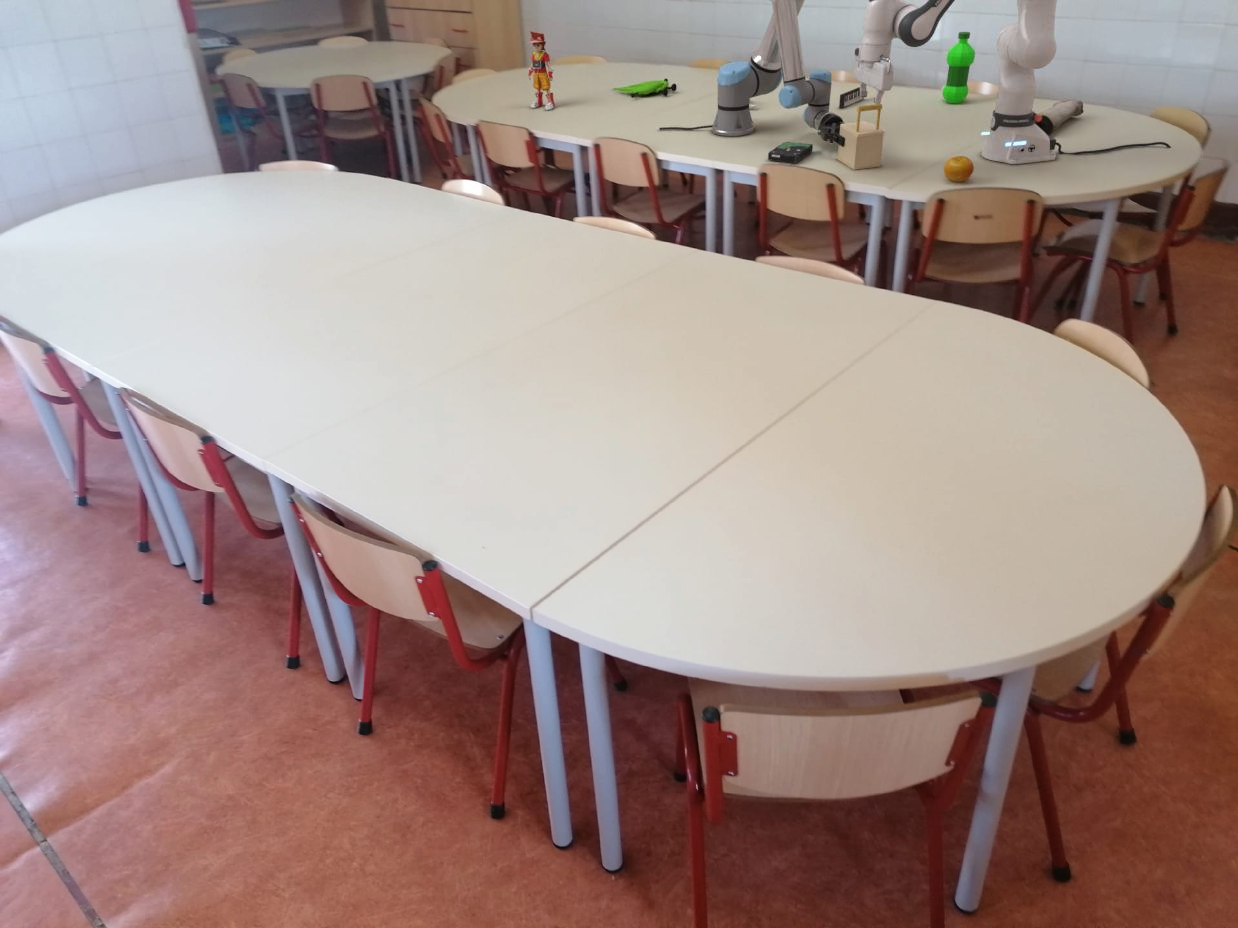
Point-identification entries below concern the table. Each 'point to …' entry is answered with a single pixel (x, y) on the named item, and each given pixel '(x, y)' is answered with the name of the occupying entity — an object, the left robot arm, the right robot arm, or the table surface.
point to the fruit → (958, 168)
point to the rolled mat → (1059, 114)
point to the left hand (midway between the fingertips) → (857, 140)
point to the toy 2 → (648, 88)
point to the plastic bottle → (958, 69)
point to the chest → (860, 150)
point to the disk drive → (790, 152)
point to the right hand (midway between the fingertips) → (870, 100)
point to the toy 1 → (541, 71)
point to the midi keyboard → (850, 97)
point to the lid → (865, 123)
